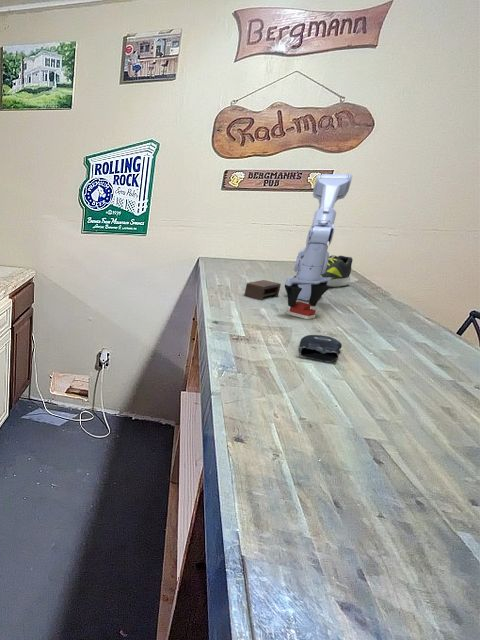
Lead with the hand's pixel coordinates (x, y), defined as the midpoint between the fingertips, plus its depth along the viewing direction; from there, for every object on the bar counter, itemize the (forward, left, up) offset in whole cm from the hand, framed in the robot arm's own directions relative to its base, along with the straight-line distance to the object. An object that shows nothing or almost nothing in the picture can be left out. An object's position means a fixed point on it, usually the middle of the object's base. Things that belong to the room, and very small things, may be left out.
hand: (301, 306), depth 151 cm
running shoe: (-45, -20, -3) cm, 49 cm away
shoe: (0, 0, -3) cm, 3 cm away
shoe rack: (-11, -22, -3) cm, 24 cm away
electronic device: (+27, +22, -3) cm, 35 cm away
